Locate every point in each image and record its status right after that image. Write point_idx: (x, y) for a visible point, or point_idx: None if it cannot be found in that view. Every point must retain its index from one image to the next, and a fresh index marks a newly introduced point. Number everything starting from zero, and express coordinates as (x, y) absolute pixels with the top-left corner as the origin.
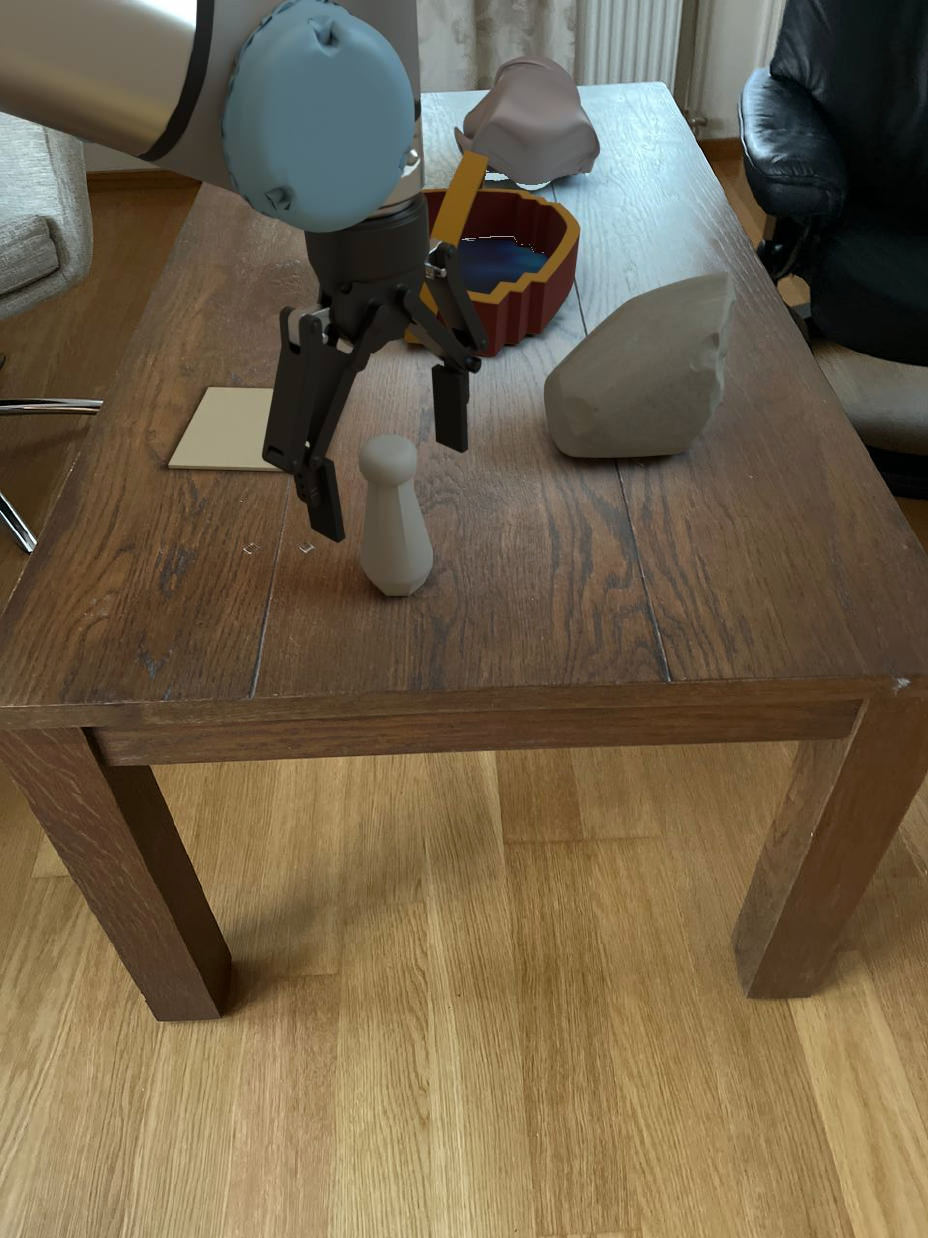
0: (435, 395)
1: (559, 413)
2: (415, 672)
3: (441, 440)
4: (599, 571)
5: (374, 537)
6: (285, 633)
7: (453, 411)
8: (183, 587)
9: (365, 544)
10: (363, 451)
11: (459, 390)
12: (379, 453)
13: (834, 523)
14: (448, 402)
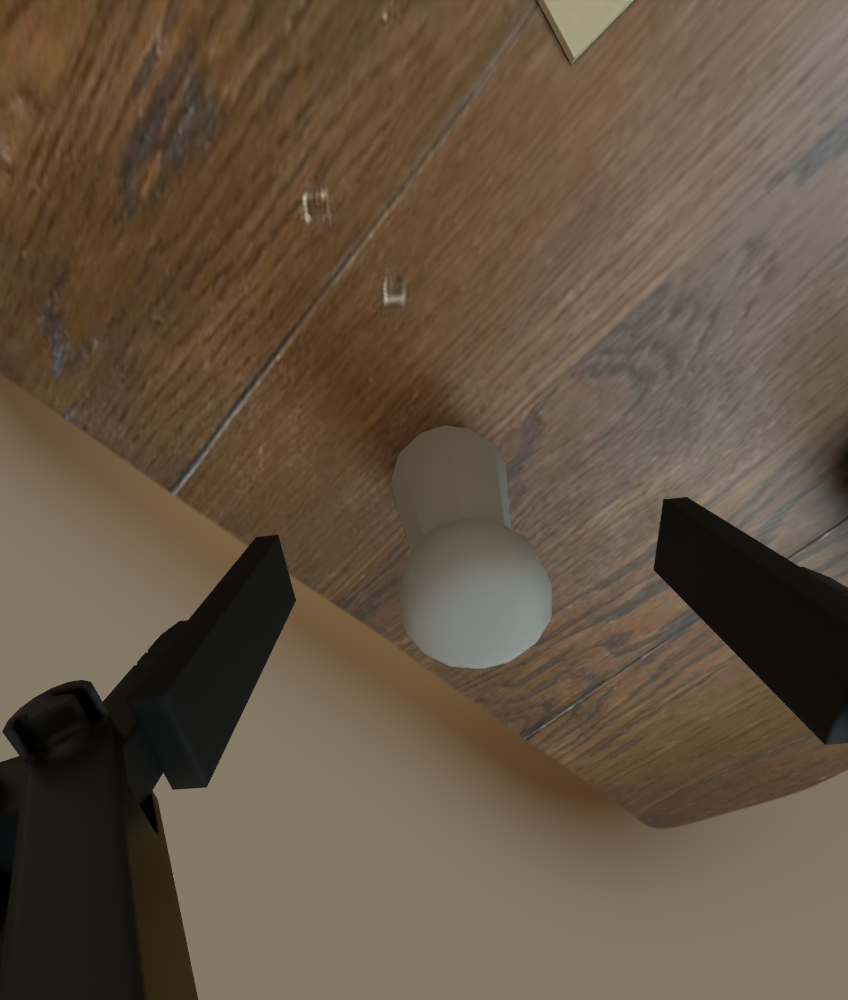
0: (764, 578)
1: None
2: (350, 593)
3: (666, 521)
4: (623, 623)
5: (403, 517)
6: (258, 437)
7: (727, 617)
8: (162, 207)
9: (401, 482)
10: (420, 594)
11: (785, 703)
12: (439, 635)
13: None
14: (747, 621)
